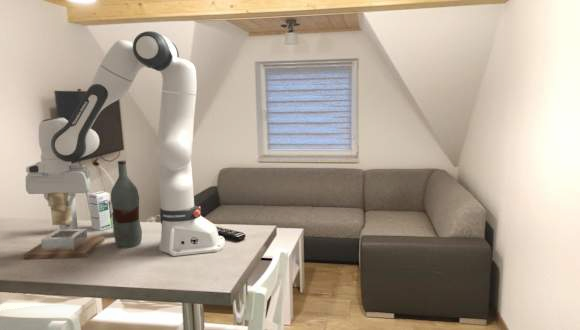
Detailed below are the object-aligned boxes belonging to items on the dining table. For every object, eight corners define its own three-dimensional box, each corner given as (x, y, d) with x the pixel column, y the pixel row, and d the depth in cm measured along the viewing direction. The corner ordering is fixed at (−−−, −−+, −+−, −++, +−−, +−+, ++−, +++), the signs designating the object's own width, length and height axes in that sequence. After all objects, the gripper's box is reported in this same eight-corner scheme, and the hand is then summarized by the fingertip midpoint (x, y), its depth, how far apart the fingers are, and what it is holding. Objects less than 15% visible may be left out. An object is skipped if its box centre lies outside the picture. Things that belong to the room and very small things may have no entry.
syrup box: (100, 231, 167) (96, 195, 164) (91, 228, 170) (87, 193, 167) (113, 227, 171) (110, 192, 169) (104, 225, 174) (100, 190, 172)
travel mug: (71, 233, 164) (65, 183, 161) (56, 232, 166) (50, 182, 162) (82, 228, 170) (77, 179, 167) (67, 227, 172) (62, 179, 168)
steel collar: (87, 239, 153) (86, 228, 152) (74, 250, 143) (73, 238, 142) (57, 240, 152) (56, 229, 152) (42, 251, 142) (41, 239, 141)
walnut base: (104, 240, 156) (104, 236, 156) (85, 256, 140) (85, 252, 140) (48, 242, 155) (48, 238, 155) (23, 259, 139) (23, 254, 139)
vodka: (110, 248, 147) (102, 163, 142) (121, 239, 156) (114, 159, 151) (137, 248, 147) (129, 163, 142) (146, 239, 156) (140, 158, 151)
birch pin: (72, 221, 148) (69, 190, 147) (66, 225, 144) (63, 193, 142) (59, 221, 148) (56, 190, 146) (52, 225, 144) (49, 193, 142)
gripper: (92, 163, 146) (95, 202, 149) (31, 164, 145) (35, 204, 148) (84, 167, 140) (88, 207, 142) (20, 168, 139) (25, 208, 142)
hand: (60, 205), depth 145 cm, fingers closed on birch pin, 4 cm apart
